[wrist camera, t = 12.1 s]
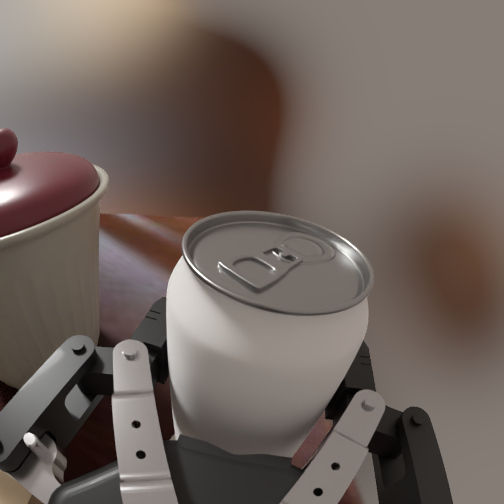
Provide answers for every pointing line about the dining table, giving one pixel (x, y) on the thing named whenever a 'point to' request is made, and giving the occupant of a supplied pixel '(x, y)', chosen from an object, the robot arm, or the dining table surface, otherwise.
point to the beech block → (15, 492)
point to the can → (261, 328)
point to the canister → (46, 255)
